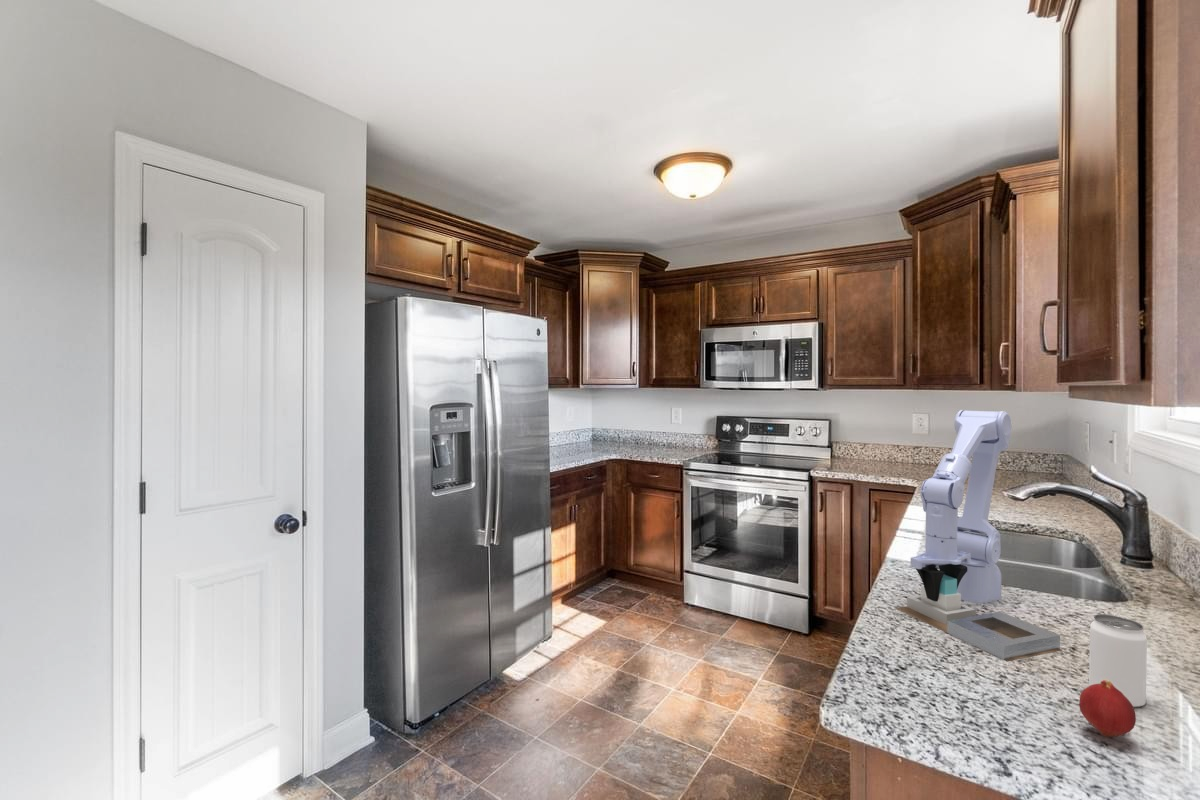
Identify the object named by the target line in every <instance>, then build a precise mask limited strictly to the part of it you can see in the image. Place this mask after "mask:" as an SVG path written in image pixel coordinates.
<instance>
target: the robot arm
mask: <svg viewBox="0 0 1200 800" xmlns="http://www.w3.org/2000/svg"><path fill="white" fill-rule="evenodd" d="M1011 419H1012V418H1011V416H1010V414H1009V413H1008V412H1007V411H1005V410H1001V411H996V410H995V411H993V410H992V411H991V410H990V411H988V410H987V411H986V410H965V409H960V410H959V411H958V412H957V413H956V415H955V417H954V423H953V424H954V430H955V434H956V437H955V441H954V442H953V443H954V444H953V447H952V449H951V451H950V452H948V453H945V454H944V455H943V456H942V457H941V459H940V461H939V463H938V465H937V467H936V469H935V471H934V473H933V474H932V476H931V477H929V478H927V479H924V480H923V482H922V484H921V489H920V499H921V501H922V510H923V512H924V513H925V550H924V552H922V553H920V554H918V555H916V556H912V557H911V556H910V567H911V568H914V569H915V570H916V572H917V574H918V575H919V577H920V579H921V582H922V586H924V588H925V592H926V596H927V598H928V599H930V600H933V601H935V602H936V601H938V598H939V590H940V583H941V580H942V577H943V575H947V576H950V577H952V578H955V579H957V593H959V594H961V601H965V602H970V603H974V604H975V603H976V604H986V603H990V602H992V601H997V600H1002V572H1001V570H1000V568H999V567H998V565H997V563H998V562H999V560H1000V557H1001V550H1002V549H1001V548H1002V547H1001V537H1002V536H1001V534H1000V531H999V530H998V529H996V528H995V527H994V526H993V524H991V523H990V522H989V514H990V510H991V509H990V507H991V502H992V495H993V491H994V490H993V488H994V483H995V477H996V472H997V471H996V470H997V464H998V459H999V456H1000V453H1001V452H1003V451H1005V450H1008V447H1009V445H1010V439H1011V434H1012V433H1011V432H1012V420H1011ZM967 478H968V481H967ZM966 481H967V487H966V486H965V482H966ZM965 490H966V493H965ZM964 493H965V498H964ZM964 499H965V501H964V506H963V512H962V515H961V516H960V517H958V516H959V515H958V513H959V512H958V509H959V508H960V506H961V505H962V504H963V500H964ZM937 566H938V567H937ZM1002 601H1004V600H1002Z"/></svg>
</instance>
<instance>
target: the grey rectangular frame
mask: <svg viewBox="0 0 1200 800" xmlns="http://www.w3.org/2000/svg"><path fill="white" fill-rule="evenodd" d="M906 598H907V599H906V600H907V602H906V606H907V607H908V608H911V609H913V610H915V611H917V612H919V613H921V614H924V615H926V616H928V617H930V618H932V619H934V620H937V621H939V622H941V623H943V624H945V625H947V620H952V619H959V618H965V617H971V616H976V614H977V610H976V608H972V607H971V606H968V605H966V604H963V603H961V609H960V610H954V611H947V612H946V611H944V610H942V609H939V608H937V607H935V606H933V605H930V604H928V603H926V602H923V601H921V594H918V595H911V596H907V597H906Z"/></svg>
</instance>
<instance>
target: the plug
mask: <svg viewBox="0 0 1200 800" xmlns="http://www.w3.org/2000/svg"><path fill="white" fill-rule="evenodd" d="M920 595H921V601H923V602H926V603H928V604H930V605H933V606H935V607H937V608H939V609H942V610H944V611H946V612H947V611H954V610H960V609H961V604H962V600H961V594H959V593H957V579H955V578H952V577H950V576H947V575H943V577H942V580H941V583H940V590H939V598H938V601H936V602H935V601H933V600H930V599H928V598H927V596H926V592H925V588H924V585H921V586H920Z"/></svg>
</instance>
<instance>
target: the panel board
mask: <svg viewBox="0 0 1200 800" xmlns="http://www.w3.org/2000/svg"><path fill="white" fill-rule="evenodd" d="M895 609H896V610H898V611H900V612H902V613H904V614H906V615H908V616H910V617H913V618H914V619H917V620H919V621H920V622H923V623H925V624H928V625H930V626H931V627H934V628H935V629H938V630H940V631H942V632H944V633H946V634H948V633H947V625H945V624H943V623H941V622H939V621H937V620H934V619H932V618H930V617H928V616H926V615H924V614H921V613H919V612H917V611H915V610H913V609H911V608H908V607H907V605H906V606H901V607H895ZM977 615H979V614H977V613H976V616H977ZM992 631H995V630H992ZM995 632H997V631H995ZM997 633H999V634H1002V633H1000V632H997ZM949 635H950V636H952V637H955V636H953V635H951V634H949ZM1002 635H1004V634H1002ZM1004 636H1006V637H1008V638H1011V637H1009V636H1007V635H1004ZM955 638H957V637H955ZM957 639H959V638H957ZM1011 639H1014V638H1011ZM959 640H960V639H959ZM970 645H971V646H973V647H975V648H978V647H976V646H974V645H972V644H970ZM978 649H980V648H978ZM980 650H981V649H980ZM1061 651H1063V649H1061V648H1060V649H1056V650H1051V651H1046V652H1041V653H1036V654H1031V655H1026V656H1021V657H1017V658H1012V659H1007V660H1003V659H1001V658H999V657H997V656H995V655H993V654H991V655H993V656H994V657H997V658H998V659H1000V660H1002V661H1005V662H1012V661H1017V660H1022V659H1026V658H1031V657H1037V656H1041V655H1046V654H1051V653H1057V652H1061ZM1060 655H1063V653H1062V654H1060ZM1056 656H1058V654H1056V655H1055V657H1056ZM1050 657H1053V655H1051V656H1050ZM1045 658H1048V657H1045ZM1042 659H1044V657H1042V658H1041V660H1042ZM1036 660H1039V658H1038V659H1036ZM1031 661H1034V660H1031ZM1027 662H1029V661H1026V663H1027ZM1022 663H1024V662H1021V664H1022ZM1016 664H1018V665H1019V663H1016ZM1012 665H1015V663H1014V664H1012ZM1009 666H1010V665H1009V664H1008V665H1007V667H1009Z"/></svg>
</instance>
